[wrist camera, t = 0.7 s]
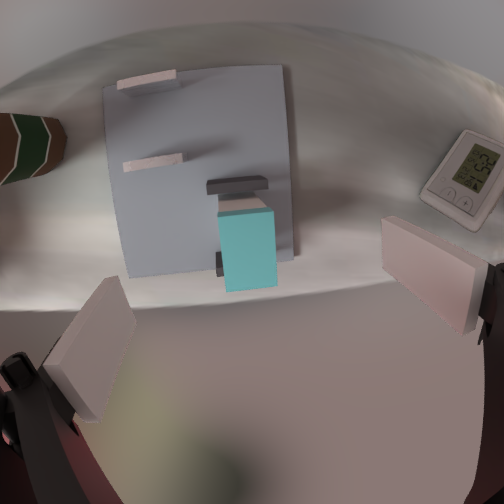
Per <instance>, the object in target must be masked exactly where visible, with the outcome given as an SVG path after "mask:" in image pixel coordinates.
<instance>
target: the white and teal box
mask: <svg viewBox="0 0 504 504" xmlns="http://www.w3.org/2000/svg"><path fill="white" fill-rule="evenodd" d="M218 209H219V212H217V217H218V227H219V235H220V244H221V253H222V261H223V270H224V278H225V286H226V292H233V291H241V290H250V289H258V288H266V287H274V286H277V264H276V244H275V225H274V211H273V210H272V209H271V208H270V207H267V206H266V205H265V204H264V203H263V202H262V201H261V200H260V199H259V198H258V196H257V195H256V194H255V193H254V192H253V191H251V192H240V193H230V194H221V195H218Z"/></svg>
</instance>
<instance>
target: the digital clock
mask: <svg viewBox="0 0 504 504" xmlns="http://www.w3.org/2000/svg"><path fill="white" fill-rule="evenodd" d="M503 192H504V144H502V143H500V142H498V141H495V140H493V139H491V138H488V137H486V136H484V135H481V134H479V133H476V132H474V131H471V130H467V129H466V130H464V131H463V132H462V133H461V135H460V136H459V138H458V139H457V140H456V142H455V143H454V145H453V146H452V148H451V149H450V151H449V152H448V154H447V155H446V157H445V158H444V159H443V161H442V162H441V164H440V165H439V166H438V168H437V169H436V171H435V172H434V173H433V175H432V176H431V177H430V179H429V180H428V182H427V183H426V184H425V186H424V187H423V189H422V191H421V193H420V198H421V200H422V201H423V202H425V203H426V204H428V205H429V206H431V207H433V208H434V209H436V210H438V211H439V212H441V213H442V214H444V215H446V216H447V217H449V218H450V219H452V220H453V221H455V222H457V223H458V224H460V225H461V226H463V227H464V228H466V229H467V230H469V231H471V232H473V233H475V232H477V231H478V230H479V229H480V228H481V227H482V225H483V223H484V222H485V220H486V219H487V217H488V215H489V214H491V212H492V211H493V209H494V207H495V206H496V204H497V202H498V201H499V199H500V197H501V195H502V193H503Z"/></svg>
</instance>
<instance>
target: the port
mask: <svg viewBox="0 0 504 504" xmlns="http://www.w3.org/2000/svg"><path fill="white" fill-rule="evenodd" d="M177 89H182V84H181V79H180V77H179V75H178V73H177V71H176V69H174V70H168V71H162V72H156V73H151V74H146V75H141V76H136V77H131V78H127V79H123V80H119V81H117V90H118V91H120V92H122V93H123V94H125V95H127V96H128V97H130V98H133V97H137V96H142V95H147V94H153V93H158V92H164V91H170V90H177ZM185 162H188V159H187V153H178V154H171V155H164V156H158V157H151V158H145V159H140V160H134V161H129V162H124V163H123V170H124V172H130V171H135V170H141V169H147V168H153V167H160V166H166V165H173V164H180V163H185Z"/></svg>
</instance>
